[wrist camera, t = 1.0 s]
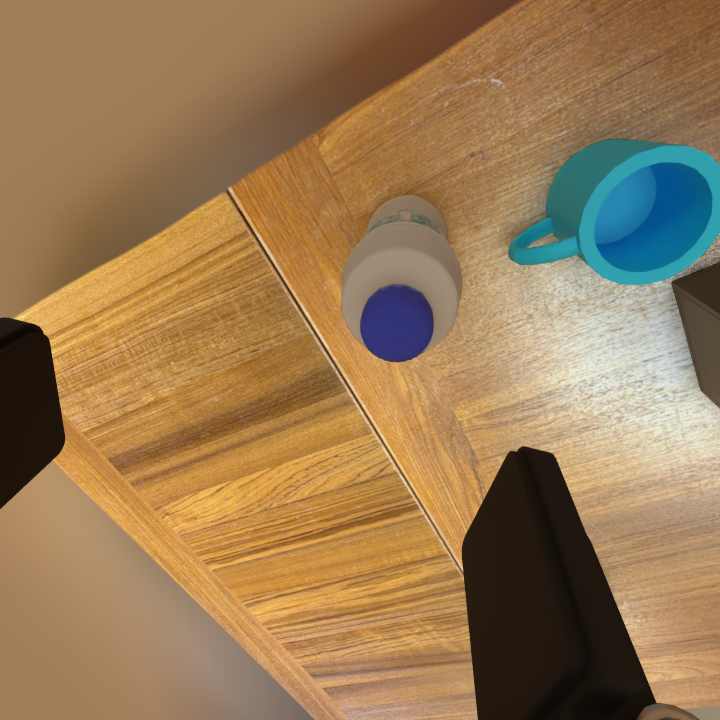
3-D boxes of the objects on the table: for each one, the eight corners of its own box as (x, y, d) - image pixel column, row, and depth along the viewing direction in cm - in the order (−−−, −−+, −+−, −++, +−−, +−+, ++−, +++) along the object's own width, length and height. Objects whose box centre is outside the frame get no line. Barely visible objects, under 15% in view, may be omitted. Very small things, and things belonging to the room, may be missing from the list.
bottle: (439, 275, 38) (456, 410, 20) (362, 265, 38) (315, 389, 21) (455, 193, 34) (492, 271, 17) (371, 183, 35) (323, 249, 17)
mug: (650, 116, 31) (719, 115, 23) (671, 224, 34) (738, 252, 27) (483, 195, 34) (499, 216, 27) (515, 286, 37) (538, 325, 30)
